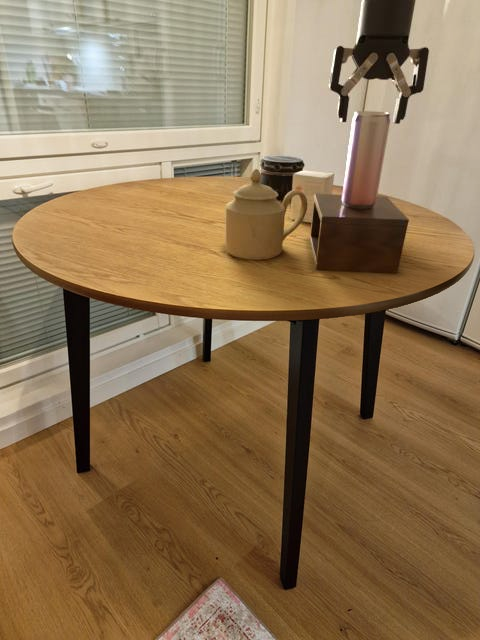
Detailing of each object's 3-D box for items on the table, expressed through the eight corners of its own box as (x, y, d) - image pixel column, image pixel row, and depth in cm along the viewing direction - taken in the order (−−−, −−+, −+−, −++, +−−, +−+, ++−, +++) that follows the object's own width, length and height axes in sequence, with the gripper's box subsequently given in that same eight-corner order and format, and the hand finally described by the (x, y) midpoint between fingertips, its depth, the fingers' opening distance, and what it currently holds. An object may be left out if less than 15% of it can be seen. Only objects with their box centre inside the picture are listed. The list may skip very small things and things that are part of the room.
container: (304, 191, 126) (307, 156, 121) (298, 201, 115) (302, 163, 110) (262, 188, 129) (264, 153, 124) (253, 198, 118) (254, 160, 113)
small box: (329, 219, 101) (335, 173, 96) (321, 225, 97) (326, 177, 92) (298, 214, 105) (302, 169, 99) (289, 219, 100) (292, 173, 95)
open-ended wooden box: (378, 242, 87) (386, 196, 82) (397, 273, 73) (409, 219, 68) (309, 239, 88) (314, 193, 83) (315, 269, 74) (322, 216, 69)
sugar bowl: (265, 233, 91) (269, 159, 84) (306, 246, 84) (314, 167, 77) (213, 248, 82) (212, 167, 75) (253, 265, 75) (257, 177, 68)
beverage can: (334, 204, 76) (346, 111, 68) (352, 199, 80) (365, 110, 72) (363, 211, 72) (379, 114, 65) (381, 205, 76) (398, 112, 68)
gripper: (342, -6, 58) (328, 123, 66) (448, -5, 57) (420, 126, 66) (335, 3, 65) (323, 119, 73) (430, 3, 64) (407, 121, 72)
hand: (369, 122), depth 69 cm, fingers open, 8 cm apart
